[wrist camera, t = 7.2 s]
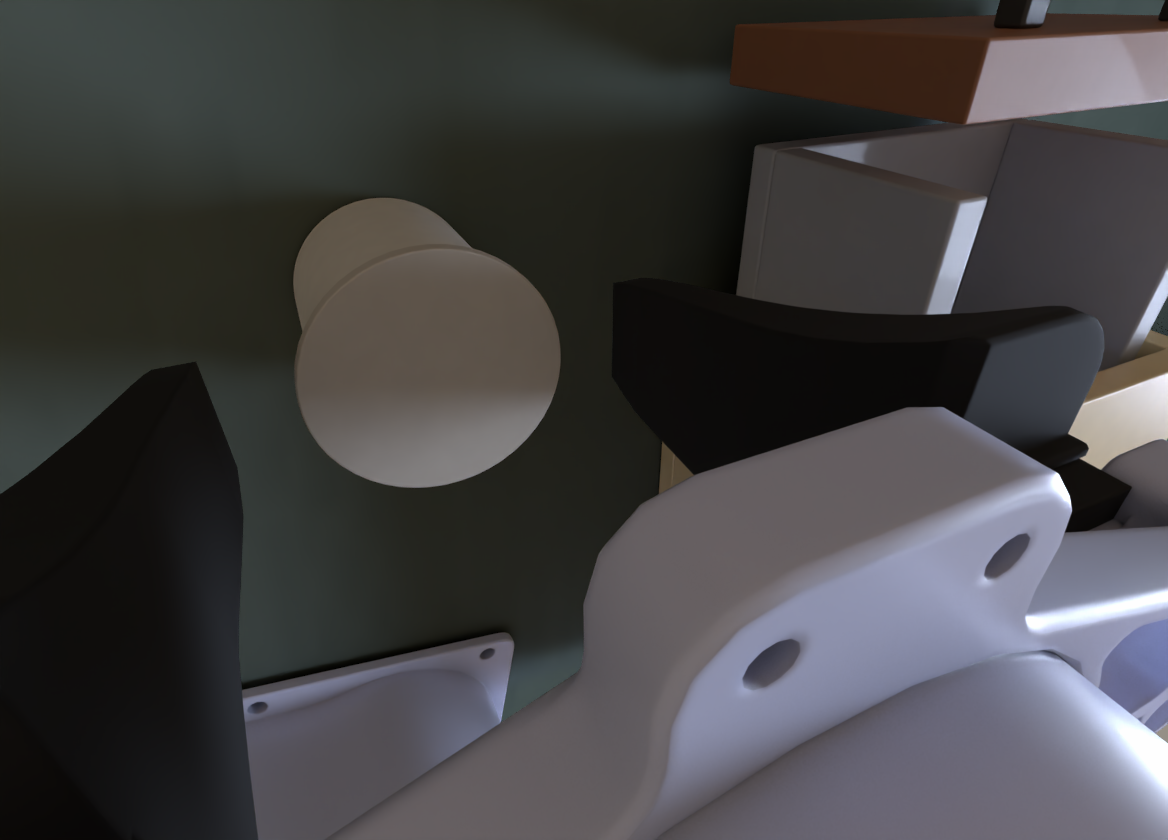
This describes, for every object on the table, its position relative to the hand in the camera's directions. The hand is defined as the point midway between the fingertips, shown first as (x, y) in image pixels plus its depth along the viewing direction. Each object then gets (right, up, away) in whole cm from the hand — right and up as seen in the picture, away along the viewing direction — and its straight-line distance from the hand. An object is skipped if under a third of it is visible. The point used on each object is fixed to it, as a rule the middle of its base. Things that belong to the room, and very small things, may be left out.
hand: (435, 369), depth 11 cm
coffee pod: (-2, +2, +3) cm, 5 cm away
